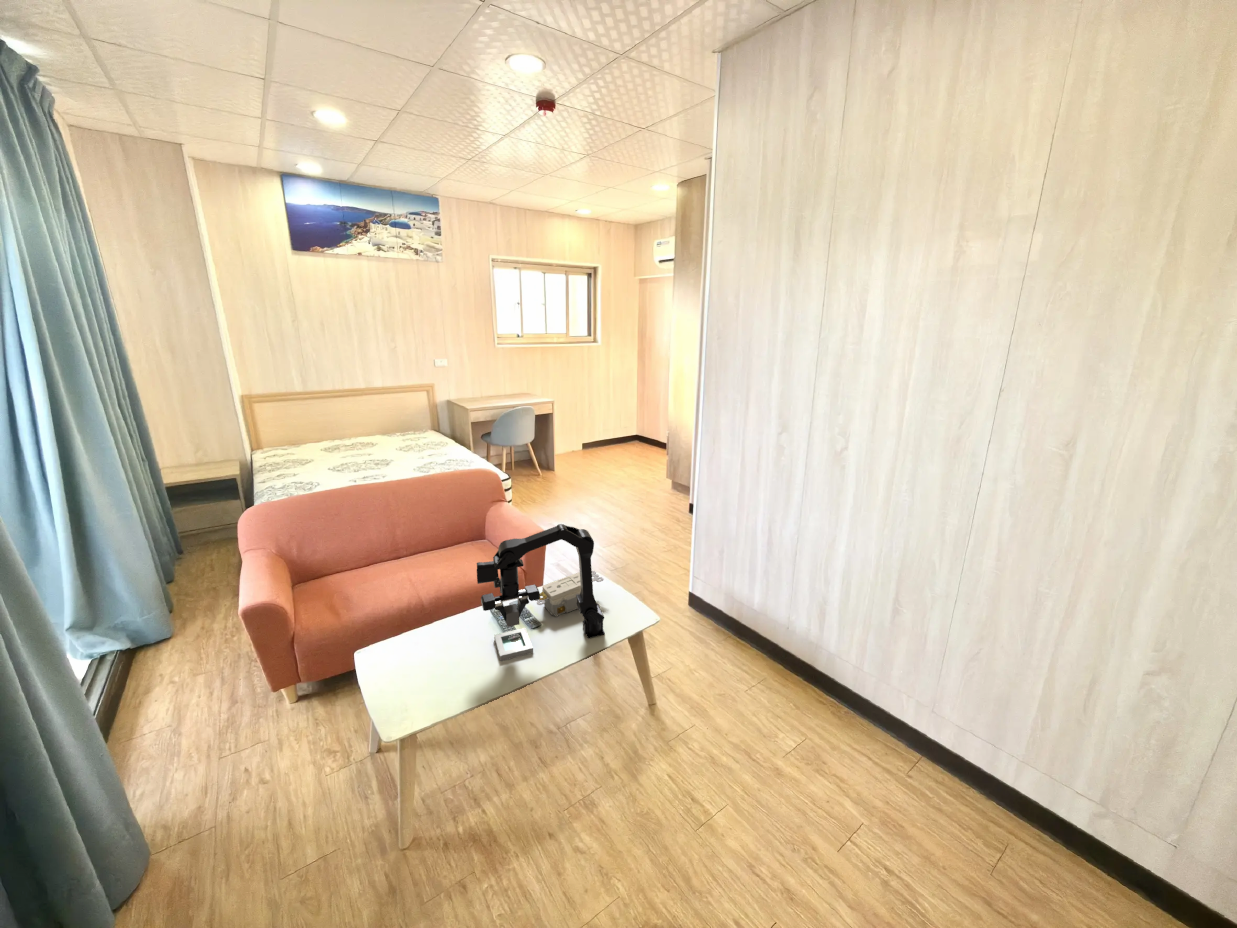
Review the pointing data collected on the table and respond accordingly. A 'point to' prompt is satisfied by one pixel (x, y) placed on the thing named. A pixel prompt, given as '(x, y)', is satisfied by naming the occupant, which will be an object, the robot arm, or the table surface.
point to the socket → (513, 644)
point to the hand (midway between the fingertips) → (511, 618)
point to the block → (511, 615)
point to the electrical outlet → (563, 594)
